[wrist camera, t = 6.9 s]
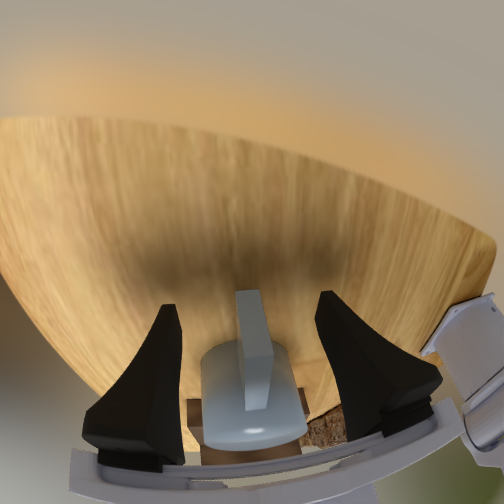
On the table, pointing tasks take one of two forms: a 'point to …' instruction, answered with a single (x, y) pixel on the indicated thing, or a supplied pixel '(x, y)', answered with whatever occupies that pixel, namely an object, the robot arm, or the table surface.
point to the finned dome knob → (249, 386)
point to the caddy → (237, 457)
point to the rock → (325, 431)
